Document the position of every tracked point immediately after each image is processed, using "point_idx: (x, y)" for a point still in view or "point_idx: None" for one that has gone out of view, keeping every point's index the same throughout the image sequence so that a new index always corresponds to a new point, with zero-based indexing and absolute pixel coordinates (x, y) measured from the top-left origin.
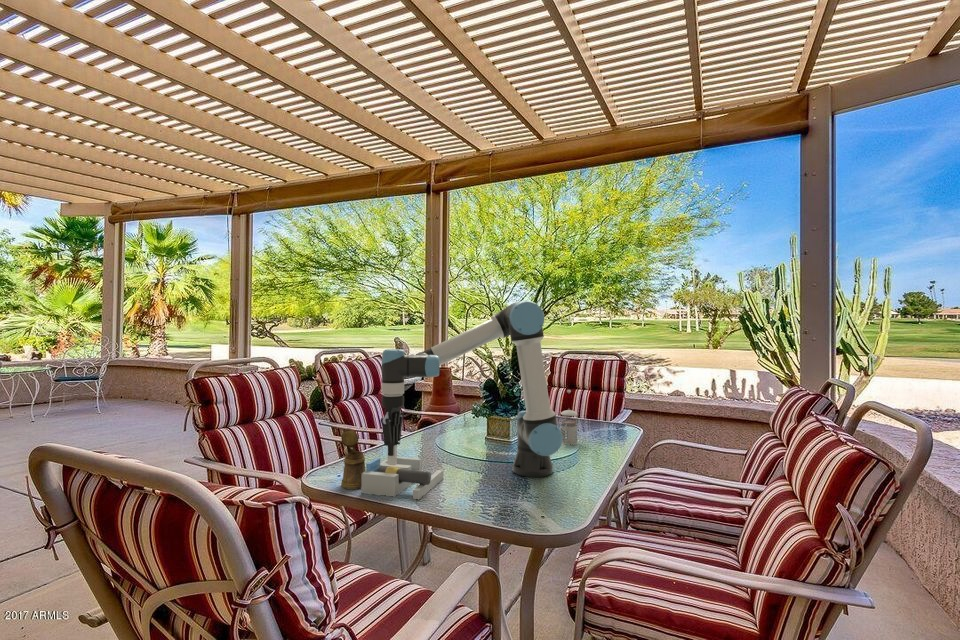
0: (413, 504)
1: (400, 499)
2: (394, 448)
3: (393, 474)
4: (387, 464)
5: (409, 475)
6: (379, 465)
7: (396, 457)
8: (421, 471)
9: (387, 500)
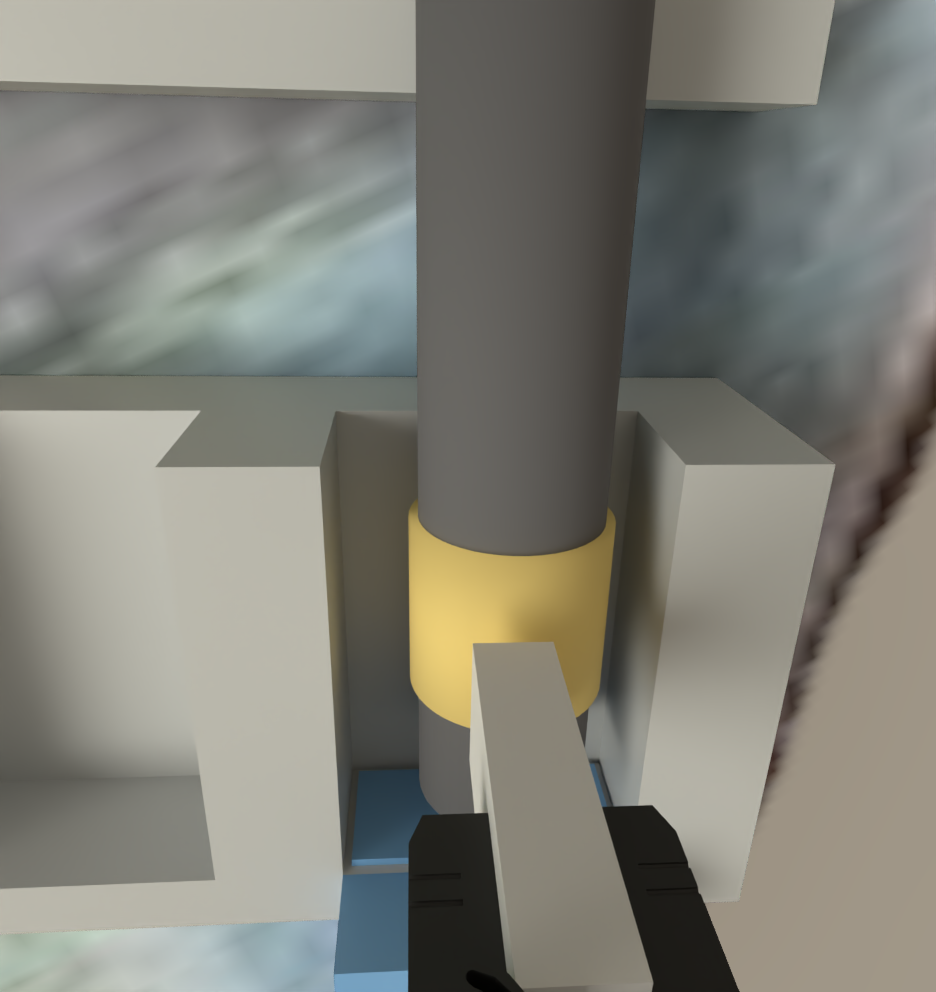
0: (931, 22)
1: (777, 274)
2: (630, 928)
3: (715, 532)
4: (266, 817)
5: (628, 286)
6: (366, 878)
7: (504, 730)
8: (542, 61)
9: (823, 406)
